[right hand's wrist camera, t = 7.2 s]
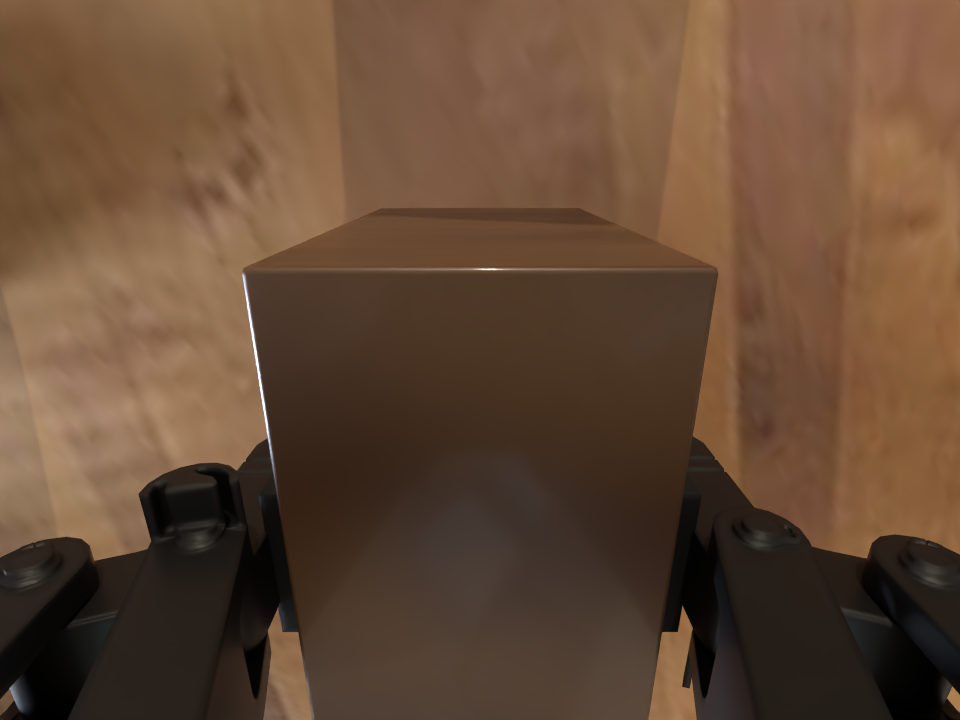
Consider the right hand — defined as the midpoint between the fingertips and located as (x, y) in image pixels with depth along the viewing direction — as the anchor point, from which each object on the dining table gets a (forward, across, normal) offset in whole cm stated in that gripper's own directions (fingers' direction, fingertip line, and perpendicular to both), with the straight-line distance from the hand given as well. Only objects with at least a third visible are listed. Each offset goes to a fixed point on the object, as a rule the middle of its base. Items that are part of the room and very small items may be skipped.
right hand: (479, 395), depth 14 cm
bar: (0, 0, -37) cm, 37 cm away
